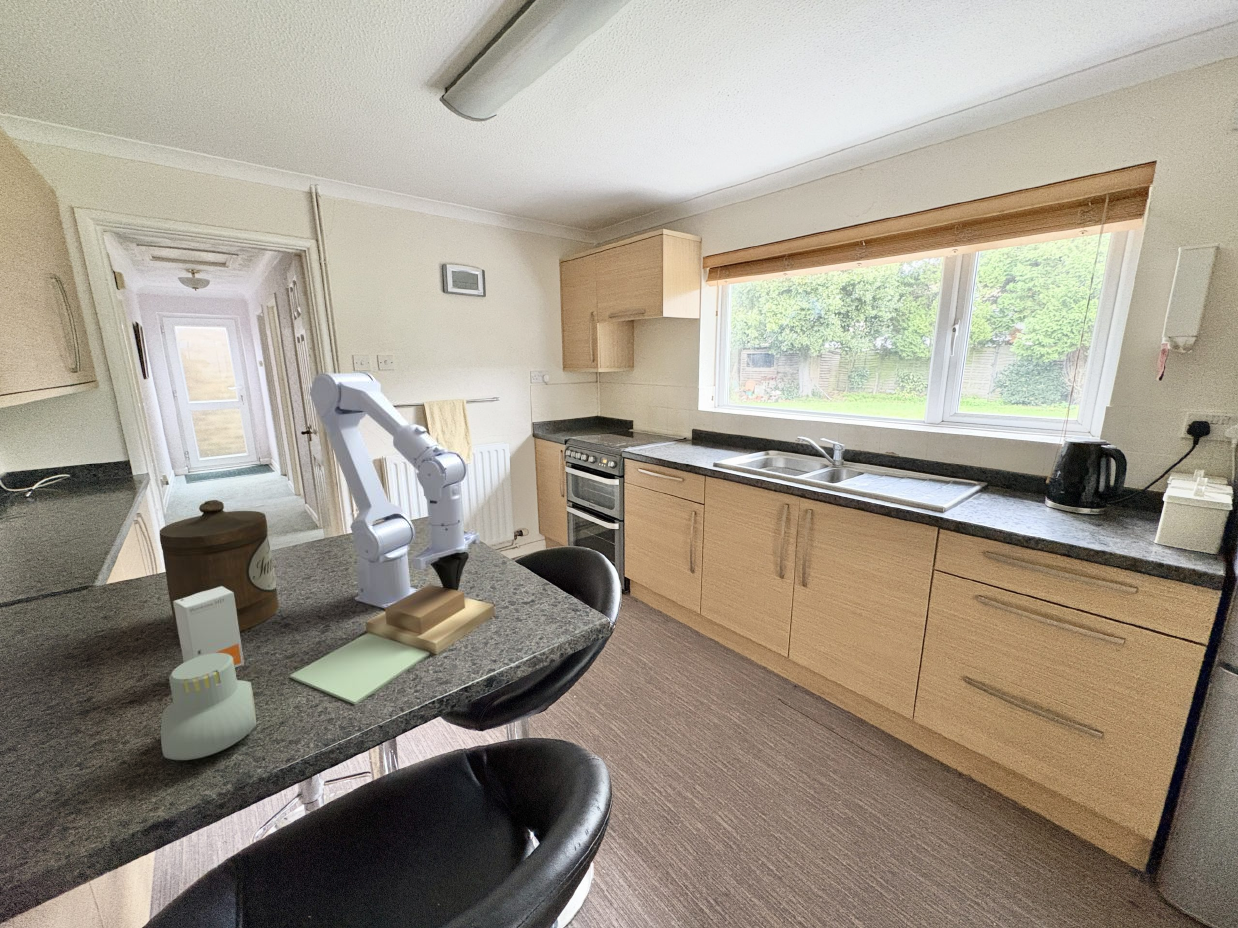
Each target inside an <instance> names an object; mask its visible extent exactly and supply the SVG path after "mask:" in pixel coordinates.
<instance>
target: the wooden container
mask: <svg viewBox="0 0 1238 928" xmlns="http://www.w3.org/2000/svg"><path fill="white" fill-rule="evenodd" d="M224 508H225V505H224V502H222V501H220V500H218V499H211V500H207V501H204V502H203V503H201V504H200V505H199V507H198V510H199V511H200V512H201V513H202V514H201V515H197V516H193V517H189V518H184V519H181V520H178V521H175V522H171V523H169V524H167V525H165V526H163V527H162V528H161V529H160V530H159V543H160V546H161V550H162V557H163V563H164V569H165V577H166V583H167V584H166V585H167V591H168V596H169V603H170V607H171V612H172V613H171V614H172V618H173V624H174V628H175V633H176V634H177V636H179V633H178V627H177V621H176V615H175V609H174V604H173V601H175V600H179V599H182V598H185V597H189V596H191V595H194V594H196V593H200V592H203V591H208V590H211V589H214V588H217V587H221V586H223V587H224V588H226V589H228V590H230V591H232V592H233V593H234V599H235V606H236V613H237V620H238V626H239V633H240V632H242V631H245V630H248V629H250V628H252V627H256V626H257V625H259V624H261V623H264V622H265V621H267V620H269V619H270V618H271V617H272V616H274V615H275V614H276V613H277V611H278V609H279V608H280V607H279V598H278V591H277V583H276V576H275V568H274V563H273V562H274V561H273V557H272V551H271V546H270V540H269V539H270V538H269V533H268V532H269V531H268V530H269V529H268V522H267V516H266V514H265V513H264V512H261V511H256V510H254V511H253V510H232V511H225V510H224Z"/></svg>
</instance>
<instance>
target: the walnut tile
mask: <svg viewBox="0 0 1238 928" xmlns="http://www.w3.org/2000/svg"><path fill="white" fill-rule="evenodd" d="M464 598H465V592H464V591H461V590H458V591H457V590H452V589H448V588H444V587H443V586H439V585H435V584H428V585H426V586H425V587H424V586H423V587H422V588H420V589H418V591H416V592H414V593H412V594H411V595H409V596H407V597H405V598H403V599H401V600H399V601H397V602H395V603H393V604H391V605H389V606H387V607H385V608H384V612H385V614H386V624H387V625H391V626H394V627H397V628H401V629H404V630H408V631H411V632H414V633H418V634H421V635H422V634H424V633H425V632H427V631H429V630H430V629H432V628H433V627H435V626H437V625H438V624H440V623H441V622H443V621H445V620H446V619H448V618H449V617H451V616H453V615H454V614H456V613H458V612H459V611H461V610H462V609H464V608H465V601H464Z"/></svg>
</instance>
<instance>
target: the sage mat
mask: <svg viewBox="0 0 1238 928" xmlns="http://www.w3.org/2000/svg"><path fill="white" fill-rule="evenodd" d="M430 654H431V653H430V652H427V651H424V650H421V649H417V648H414V647H411V646H408V645H405V644H402V643H399V642H396V641H392V640H389V639H386V638H383V637H380V636H377V635H374V634H371V633H368V632H366V633H364V634H363V635H361V636H359V637H357V638H356V639H354V640H352V641H350V642H348V643H346V644H345V645H343V646H341V647H339V648H337V649H336V650H333V651H332V652H330V653H328V654H326V655H324V656H323V657H321V658H319V659H317V660H315V661H313V662H311V663H309V664H308V665H306V666H304V667H303V668H301V669H299V670H297V671H295V672H293V673H291V674H290V675H289V678H290V679H291V680H292V679H293V680H294V681H296V682H299V683H302V684H304V685H306V686H309V687H312V688H314V689H316V690H319V691H321V692H322V693H323V692H324V693H326V694H329V695H331V696H333V697H336V698H338V699H340V700H343V701H345V702H348V703H351V704H352V705H355V706H356V705H357V704H359V703H360V702H362V701H364V700H365V699H366V698H368V697H370V696H371V695H373V694H374V693H375V692H377V691H378V690H379V689H381V688H383V687H384V686H385V685H387V684H389V683H391V682H392V681H393V680H394V679H396V678H398V677H399V676H400V675H402V674H404V673H405V672H406V671H409V669H411V668H412V667H414V666H415V665H418V663H420V662H421V661H422V660H424V659H426V658H427V657H429V656H430Z"/></svg>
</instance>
